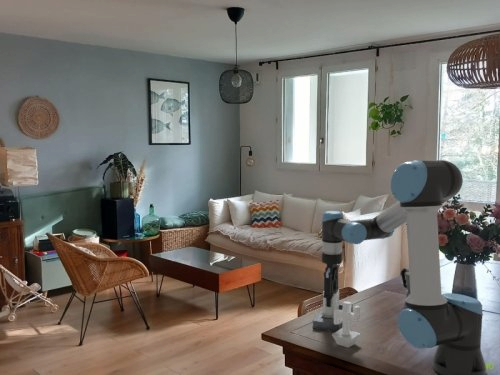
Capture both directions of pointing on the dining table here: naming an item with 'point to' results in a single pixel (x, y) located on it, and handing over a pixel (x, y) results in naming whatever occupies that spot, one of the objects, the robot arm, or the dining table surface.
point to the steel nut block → (335, 304)
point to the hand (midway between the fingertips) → (330, 311)
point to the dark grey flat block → (328, 321)
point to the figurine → (346, 325)
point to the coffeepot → (406, 281)
